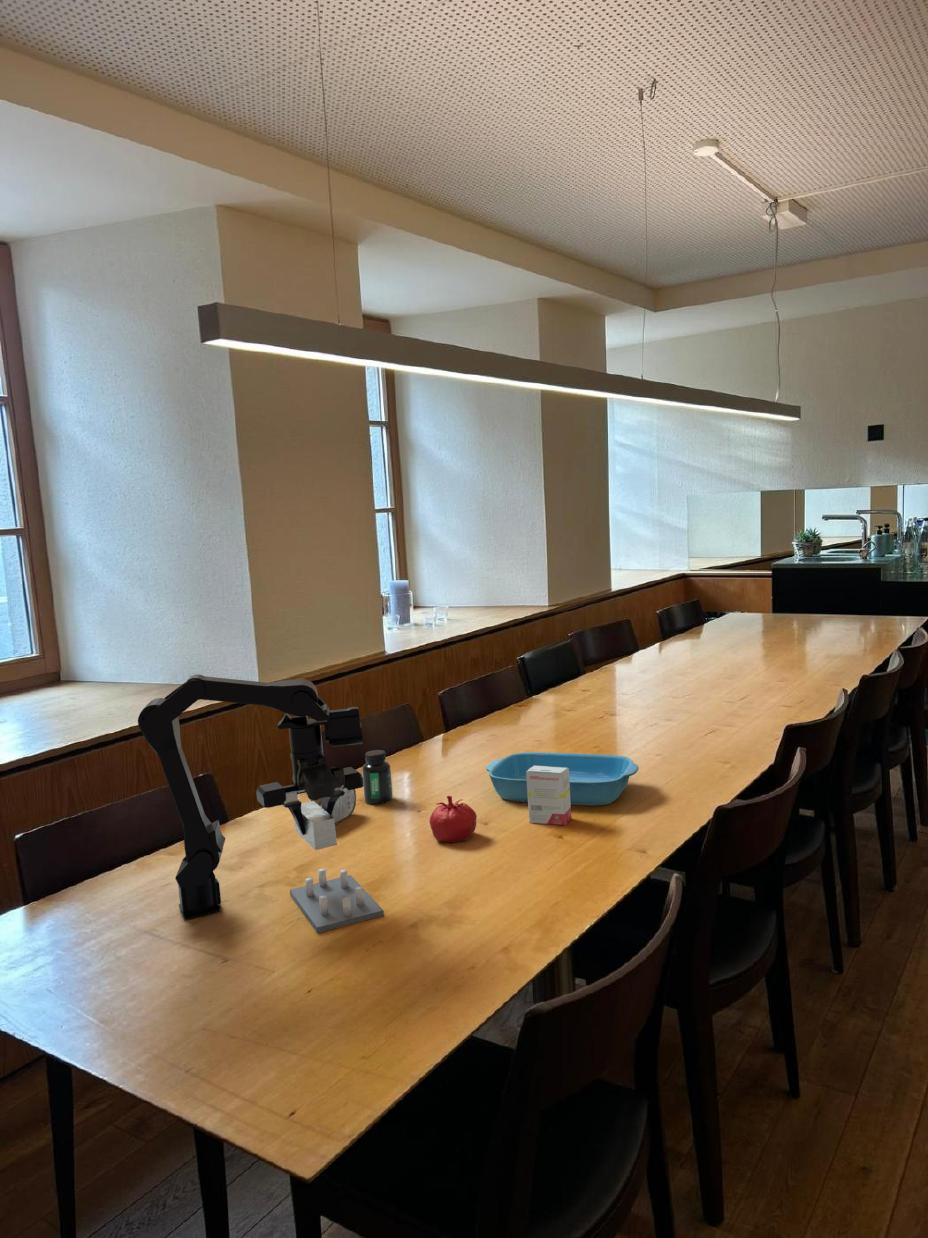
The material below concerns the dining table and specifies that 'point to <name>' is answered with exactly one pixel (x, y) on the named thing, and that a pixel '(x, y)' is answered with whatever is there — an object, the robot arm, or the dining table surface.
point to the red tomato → (453, 821)
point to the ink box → (548, 795)
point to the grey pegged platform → (335, 902)
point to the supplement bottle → (377, 778)
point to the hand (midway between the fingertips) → (314, 831)
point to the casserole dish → (587, 775)
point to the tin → (342, 805)
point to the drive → (317, 826)
